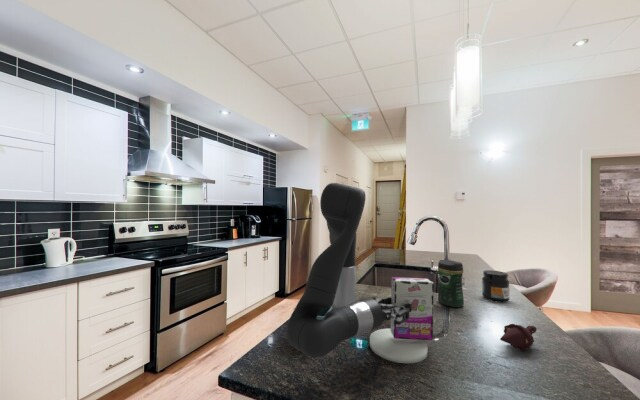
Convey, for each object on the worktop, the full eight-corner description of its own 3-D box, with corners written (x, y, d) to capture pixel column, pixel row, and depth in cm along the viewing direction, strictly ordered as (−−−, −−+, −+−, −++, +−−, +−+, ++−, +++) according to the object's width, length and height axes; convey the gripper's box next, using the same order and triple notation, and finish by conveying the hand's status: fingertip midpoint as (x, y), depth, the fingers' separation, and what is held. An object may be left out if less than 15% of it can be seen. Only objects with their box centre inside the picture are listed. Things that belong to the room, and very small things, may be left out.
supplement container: (512, 304, 113) (511, 276, 113) (483, 300, 117) (483, 273, 118) (507, 297, 122) (506, 271, 123) (480, 293, 127) (480, 269, 127)
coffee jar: (467, 306, 109) (466, 261, 110) (454, 309, 106) (454, 263, 107) (447, 299, 118) (446, 257, 119) (434, 301, 115) (434, 259, 115)
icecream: (518, 337, 69) (551, 332, 75) (492, 319, 76) (523, 316, 82) (510, 360, 71) (543, 354, 76) (485, 340, 77) (516, 336, 83)
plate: (364, 355, 71) (364, 348, 71) (374, 330, 86) (374, 325, 86) (428, 369, 65) (428, 361, 65) (427, 340, 80) (427, 334, 80)
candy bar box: (426, 332, 79) (428, 278, 79) (433, 341, 74) (435, 282, 74) (389, 330, 79) (391, 276, 80) (393, 338, 74) (395, 280, 75)
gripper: (384, 310, 61) (422, 297, 71) (341, 294, 72) (380, 285, 83) (383, 343, 60) (422, 325, 71) (341, 322, 72) (379, 309, 82)
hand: (399, 303), depth 77 cm, fingers closed on candy bar box, 6 cm apart
